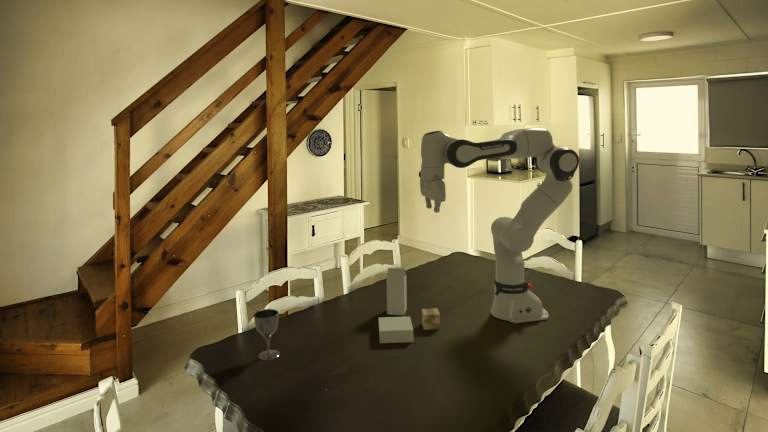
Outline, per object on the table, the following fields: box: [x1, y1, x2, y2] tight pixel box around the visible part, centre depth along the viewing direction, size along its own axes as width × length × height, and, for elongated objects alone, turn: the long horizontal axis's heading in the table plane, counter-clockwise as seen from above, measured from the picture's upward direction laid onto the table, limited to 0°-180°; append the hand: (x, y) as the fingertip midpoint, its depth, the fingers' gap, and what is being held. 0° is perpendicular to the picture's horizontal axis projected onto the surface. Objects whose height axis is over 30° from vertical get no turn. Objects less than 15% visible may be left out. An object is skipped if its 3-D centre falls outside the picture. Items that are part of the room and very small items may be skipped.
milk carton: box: [386, 267, 408, 316], centre depth 192 cm, size 7×7×19 cm
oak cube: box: [421, 307, 441, 331], centre depth 179 cm, size 6×6×6 cm
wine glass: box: [253, 308, 281, 361], centre depth 158 cm, size 8×8×15 cm
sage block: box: [378, 316, 414, 344], centre depth 172 cm, size 12×12×5 cm
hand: (432, 210), depth 179 cm, fingers open, 8 cm apart
